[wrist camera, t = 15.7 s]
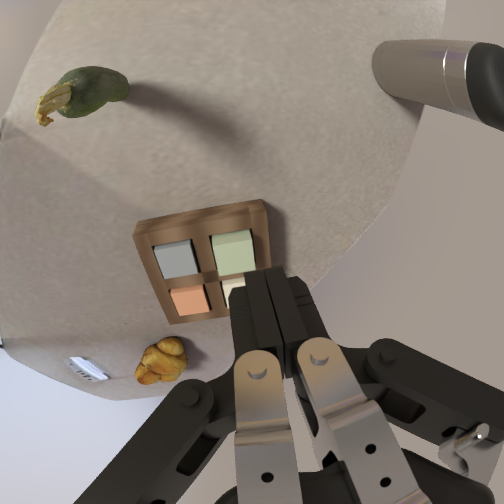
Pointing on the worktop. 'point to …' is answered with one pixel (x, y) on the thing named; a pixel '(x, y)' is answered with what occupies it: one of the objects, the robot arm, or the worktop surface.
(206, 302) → the key terracotta
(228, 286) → the key cream
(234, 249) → the key sage
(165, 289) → the keypad
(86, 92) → the vegetable
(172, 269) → the key slate
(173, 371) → the bread roll
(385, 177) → the worktop surface
